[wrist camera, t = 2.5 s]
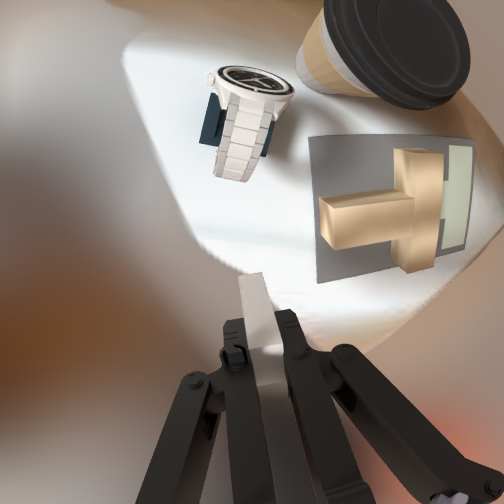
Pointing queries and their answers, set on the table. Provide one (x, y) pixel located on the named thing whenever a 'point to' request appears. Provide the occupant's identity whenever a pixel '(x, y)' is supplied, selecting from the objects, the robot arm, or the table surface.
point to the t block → (392, 212)
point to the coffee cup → (386, 51)
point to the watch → (242, 117)
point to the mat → (382, 178)
